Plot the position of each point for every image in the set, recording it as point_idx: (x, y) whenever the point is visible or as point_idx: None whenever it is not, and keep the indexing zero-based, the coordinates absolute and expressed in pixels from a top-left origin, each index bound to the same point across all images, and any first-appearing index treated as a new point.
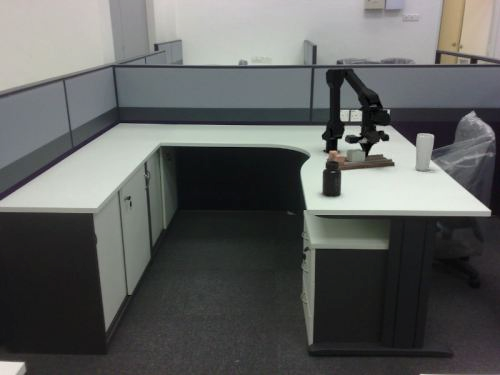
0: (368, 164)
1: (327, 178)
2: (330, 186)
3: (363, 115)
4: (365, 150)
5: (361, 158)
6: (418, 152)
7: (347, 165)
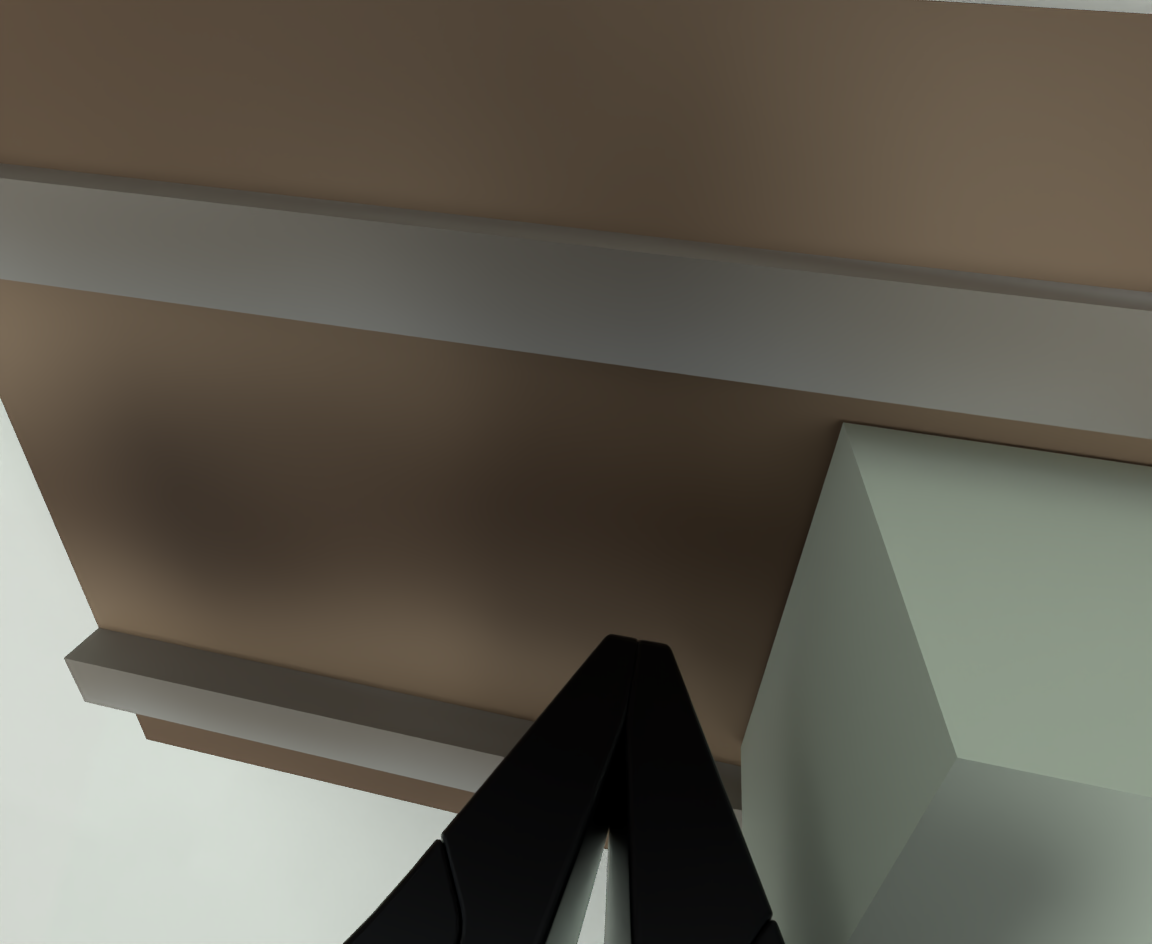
0: (942, 58)
1: None
2: None
3: None
4: (726, 914)
5: (1053, 533)
6: None
7: None
